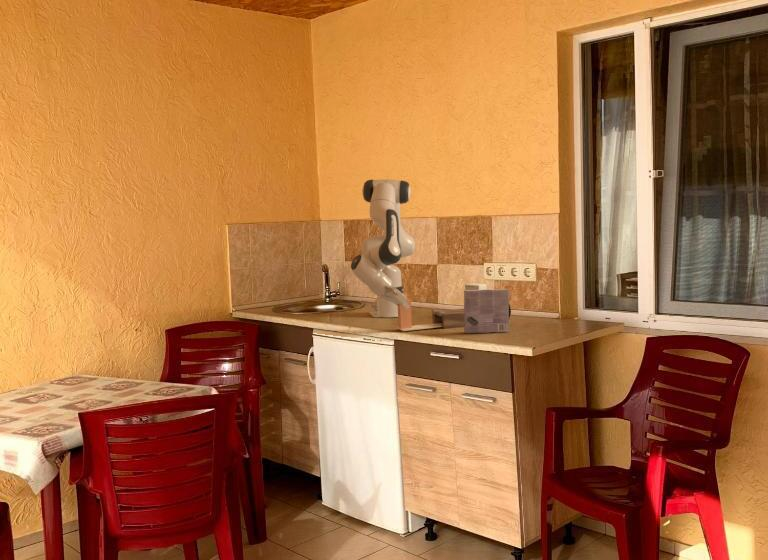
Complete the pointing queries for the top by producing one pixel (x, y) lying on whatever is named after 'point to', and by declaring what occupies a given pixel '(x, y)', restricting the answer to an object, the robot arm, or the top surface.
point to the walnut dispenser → (449, 318)
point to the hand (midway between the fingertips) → (404, 306)
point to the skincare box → (475, 286)
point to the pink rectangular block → (406, 319)
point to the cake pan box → (486, 311)
